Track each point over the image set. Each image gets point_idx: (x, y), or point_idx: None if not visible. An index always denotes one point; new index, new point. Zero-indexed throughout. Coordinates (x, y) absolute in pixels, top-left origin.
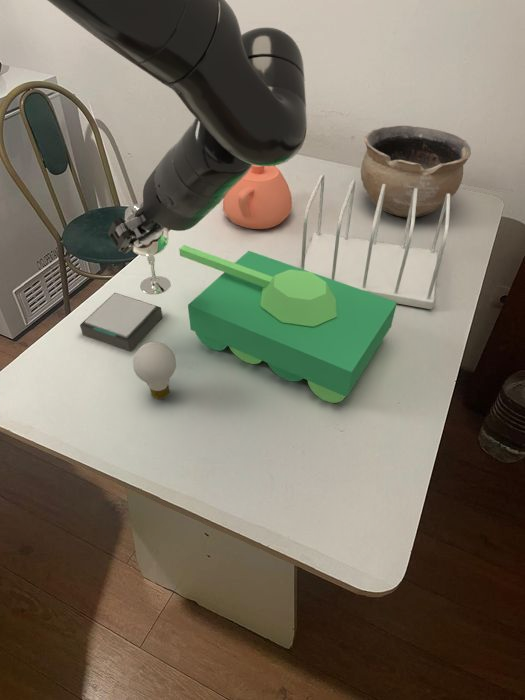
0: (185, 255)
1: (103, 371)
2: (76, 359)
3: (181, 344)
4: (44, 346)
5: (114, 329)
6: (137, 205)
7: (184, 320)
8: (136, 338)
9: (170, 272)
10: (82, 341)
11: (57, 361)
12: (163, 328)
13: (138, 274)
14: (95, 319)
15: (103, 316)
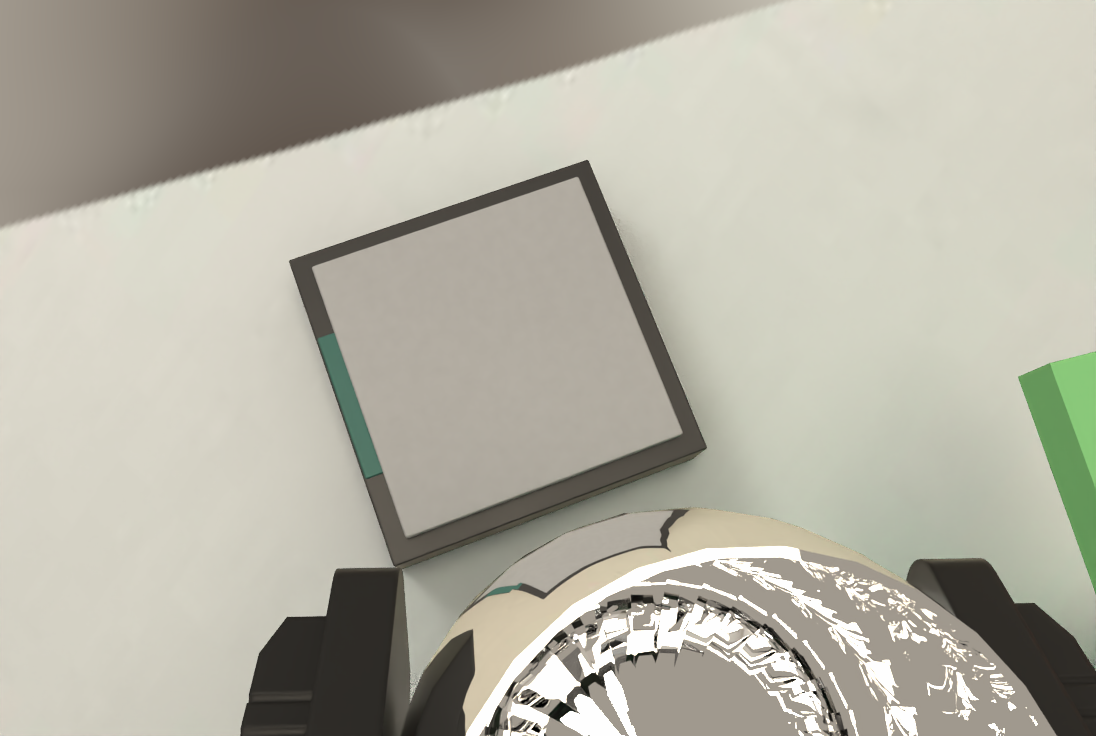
0: (1046, 425)
1: (213, 592)
2: (171, 417)
3: None
4: (118, 223)
5: (390, 439)
6: (828, 560)
7: None
8: (462, 543)
9: (953, 175)
10: (272, 323)
11: (97, 363)
12: None
13: (806, 71)
14: (365, 293)
15: (411, 303)
